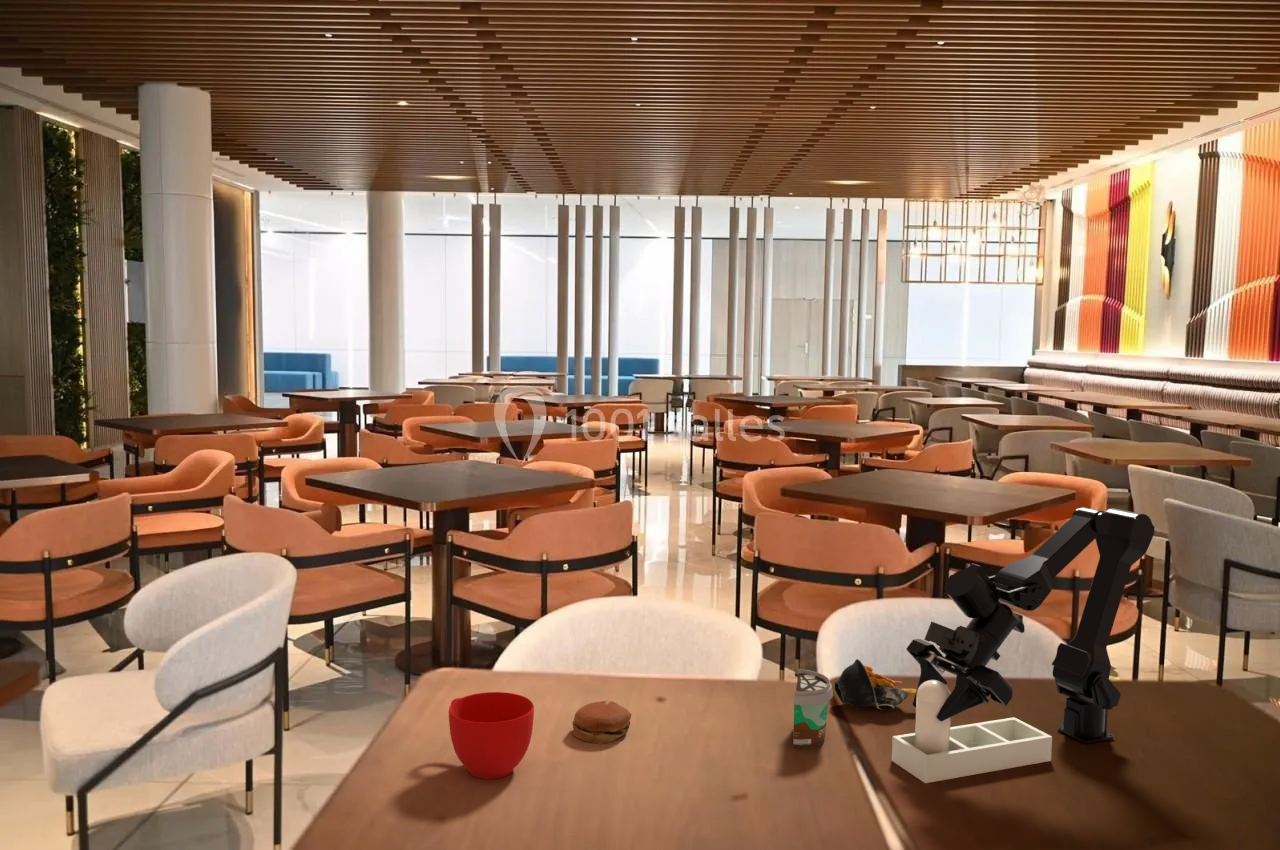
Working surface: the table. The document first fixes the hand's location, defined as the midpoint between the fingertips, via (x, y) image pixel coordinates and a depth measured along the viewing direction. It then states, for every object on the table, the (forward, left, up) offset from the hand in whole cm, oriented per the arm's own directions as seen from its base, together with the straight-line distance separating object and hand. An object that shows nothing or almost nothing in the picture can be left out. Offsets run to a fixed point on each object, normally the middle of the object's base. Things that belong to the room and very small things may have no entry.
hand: (926, 713), depth 157 cm
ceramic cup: (+64, -24, -9) cm, 69 cm away
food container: (+10, -16, -9) cm, 21 cm away
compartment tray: (-9, 0, -9) cm, 13 cm away
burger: (+43, -30, -9) cm, 53 cm away
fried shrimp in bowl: (-10, -24, -9) cm, 28 cm away
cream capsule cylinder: (-1, 0, -7) cm, 7 cm away
